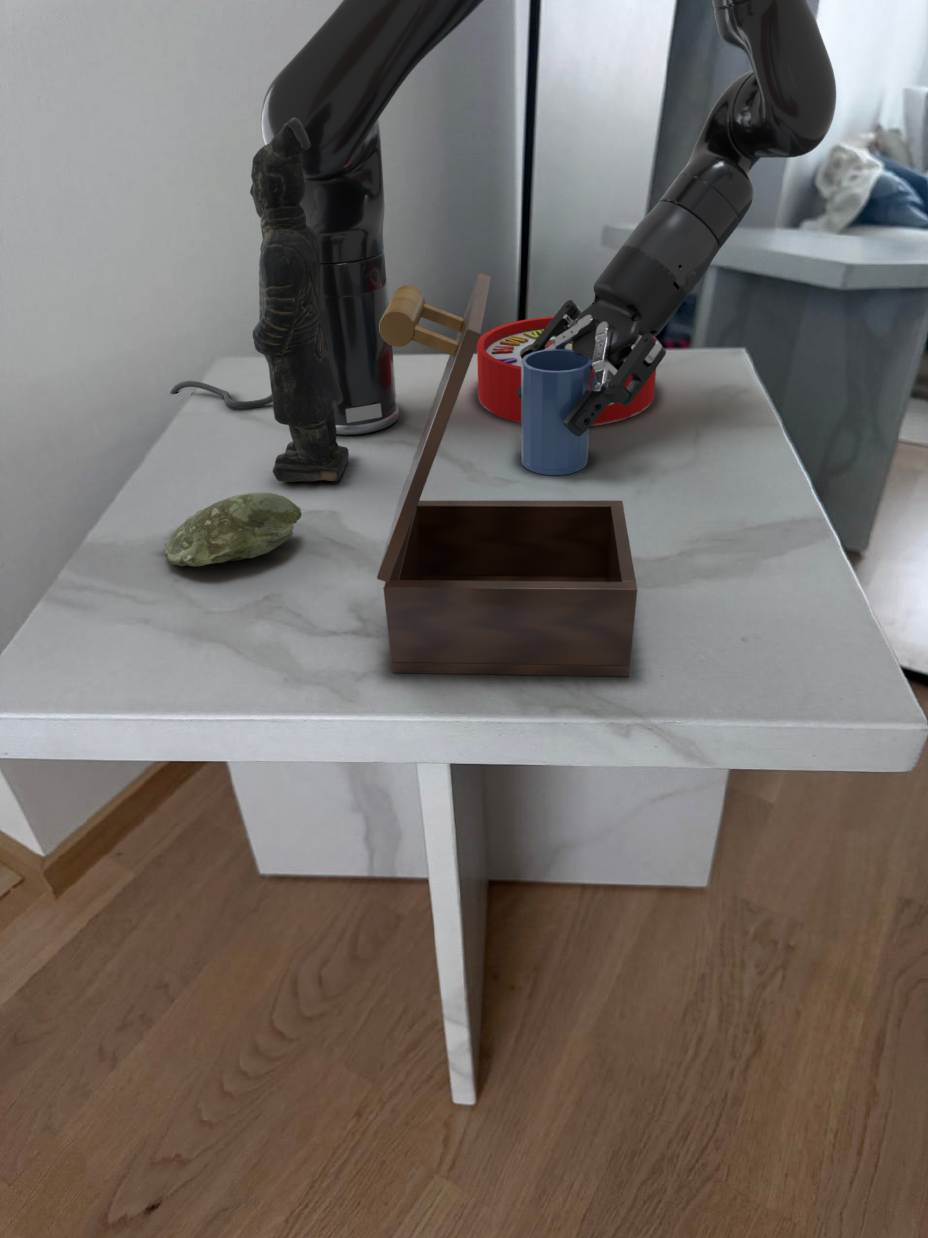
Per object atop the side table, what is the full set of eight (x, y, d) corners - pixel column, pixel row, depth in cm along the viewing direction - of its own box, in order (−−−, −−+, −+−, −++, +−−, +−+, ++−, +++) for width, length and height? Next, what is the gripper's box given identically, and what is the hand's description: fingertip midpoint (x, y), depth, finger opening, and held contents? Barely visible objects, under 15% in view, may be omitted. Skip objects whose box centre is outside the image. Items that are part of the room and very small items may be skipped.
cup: (508, 465, 84) (508, 363, 78) (545, 442, 88) (547, 344, 82) (564, 481, 81) (567, 376, 75) (599, 457, 85) (605, 356, 79)
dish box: (616, 580, 66) (622, 500, 63) (629, 676, 57) (637, 589, 53) (413, 578, 68) (406, 500, 64) (392, 673, 58) (383, 587, 54)
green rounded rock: (162, 510, 75) (227, 429, 71) (235, 545, 79) (300, 471, 75) (161, 590, 68) (232, 506, 64) (241, 624, 73) (313, 547, 68)
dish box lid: (491, 276, 54) (411, 244, 53) (480, 333, 45) (383, 296, 44) (411, 496, 64) (342, 472, 63) (388, 583, 54) (306, 555, 53)
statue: (292, 451, 89) (237, 114, 71) (357, 450, 88) (318, 111, 71) (268, 495, 80) (200, 128, 63) (340, 495, 80) (291, 124, 63)
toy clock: (493, 314, 106) (660, 317, 102) (494, 361, 109) (655, 366, 105) (460, 369, 90) (656, 376, 86) (462, 423, 93) (651, 431, 89)
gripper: (588, 229, 81) (484, 371, 84) (685, 258, 71) (563, 419, 73) (631, 279, 86) (531, 412, 89) (727, 313, 76) (611, 462, 78)
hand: (546, 415), depth 81 cm, fingers open, 8 cm apart
